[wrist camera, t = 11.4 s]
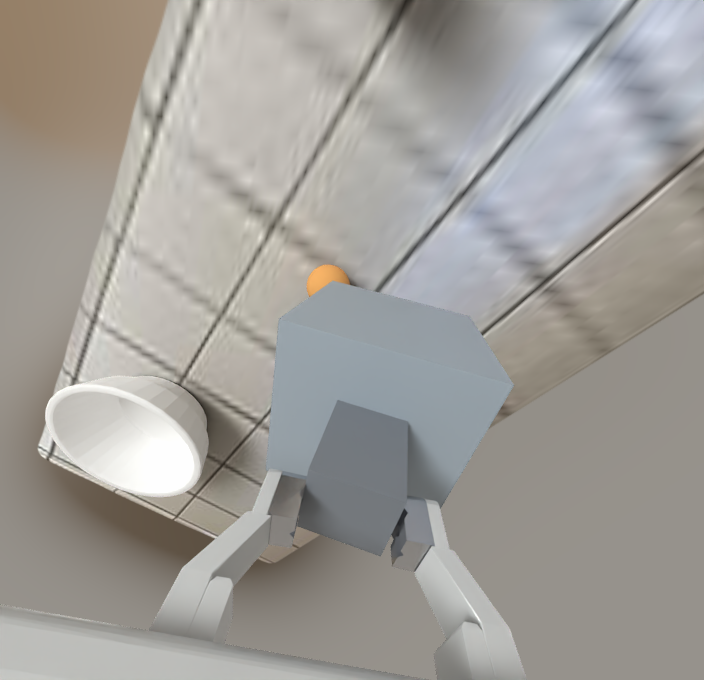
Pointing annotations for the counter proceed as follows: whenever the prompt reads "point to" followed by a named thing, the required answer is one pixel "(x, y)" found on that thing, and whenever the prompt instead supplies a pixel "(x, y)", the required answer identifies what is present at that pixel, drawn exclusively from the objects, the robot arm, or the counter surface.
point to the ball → (325, 278)
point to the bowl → (132, 433)
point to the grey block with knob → (377, 407)
